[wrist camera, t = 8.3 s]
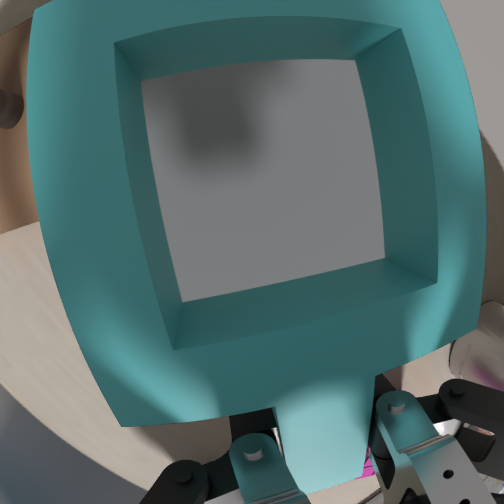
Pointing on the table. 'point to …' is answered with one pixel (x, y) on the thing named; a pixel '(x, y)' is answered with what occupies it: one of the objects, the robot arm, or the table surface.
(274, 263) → the mat
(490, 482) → the light bulb box
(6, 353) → the table surface
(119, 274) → the teal square racket
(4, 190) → the stand
